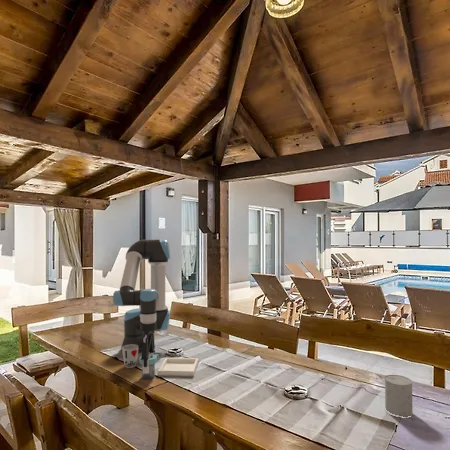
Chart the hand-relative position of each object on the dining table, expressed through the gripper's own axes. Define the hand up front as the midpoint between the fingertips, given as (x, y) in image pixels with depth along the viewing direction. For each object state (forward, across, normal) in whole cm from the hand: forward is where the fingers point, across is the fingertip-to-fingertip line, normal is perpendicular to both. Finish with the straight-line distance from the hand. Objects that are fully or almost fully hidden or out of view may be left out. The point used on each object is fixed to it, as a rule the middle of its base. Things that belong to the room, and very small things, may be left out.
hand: (148, 369), depth 169 cm
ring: (-4, 0, 0) cm, 4 cm away
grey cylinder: (+4, +28, +105) cm, 109 cm away
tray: (+3, -10, +13) cm, 17 cm away
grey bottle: (+3, 0, 0) cm, 3 cm away
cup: (+4, -13, -13) cm, 19 cm away
